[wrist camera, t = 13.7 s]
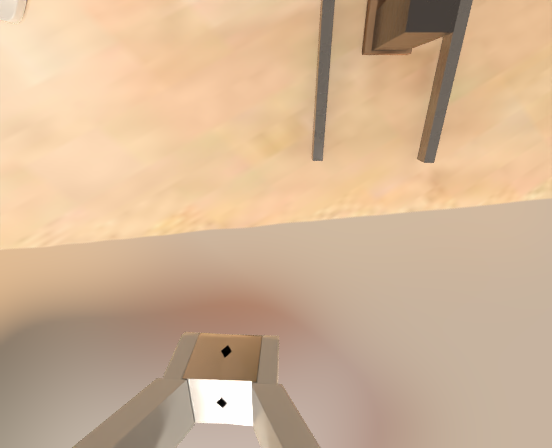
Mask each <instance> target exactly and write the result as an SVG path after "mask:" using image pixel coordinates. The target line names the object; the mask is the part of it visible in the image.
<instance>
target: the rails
mask: <svg viewBox="0 0 552 448" xmlns="http://www.w3.org/2000/svg"><path fill="white" fill-rule="evenodd" d="M472 1H473V0H461V1H460V6H459V10H458V15H457V19H456V23H455V28H454V32H453V33H451V34H448V35H446V36H444V37H443V41H442V46H441V51H440V55H439V60H438V65H437V69H436V74H435V79H434V83H433V88H432V93H431V97H430V102H429V107H428V112H427V116H426V121H425V126H424V130H423V135H422V140H421V144H420V149H419V154H418V158H417V159H418V160H420V161H422V162H424V163H434V160H435V156H436V152H437V148H438V144H439V139H440V135H441V131H442V127H443V123H444V118H445V114H446V110H447V106H448V102H449V97H450V93H451V89H452V85H453V81H454V77H455V72H456V68H457V64H458V60H459V56H460V51H461V47H462V43H463V39H464V35H465V30H466V26H467V22H468V18H469V14H470V9H471V5H472ZM334 2H335V0H321V11H320V27H319V44H318V61H317V77H316V94H315V111H314V128H313V144H312V160H313V161H323V147H324V134H325V121H326V108H327V95H328V81H329V68H330V55H331V42H332V29H333V15H334Z"/></svg>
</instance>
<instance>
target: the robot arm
mask: <svg viewBox="0 0 552 448" xmlns="http://www.w3.org/2000/svg"><path fill="white" fill-rule="evenodd" d="M26 2H27V0H0V21H2V22H7V23H11V24H17V23H19V22H20V21H21V20H22V18H23V15H24V11H25V7H26ZM278 367H279V336H265V335H263V336H262V335H235V334H234V335H233V334H232V335H228V334H227V335H226V334H213V333H194V332H185V333H184V334H183V335H182V336H181V338H180V341H179V343H178V345H177V347H176V349H175V351H174V354H173V356H172V358H171V360H170V362H169V365H168V367H167V369H166V371H165V373H164V376H163V378H157V379H156V380H154V381H153V382H152V383H151V384H149V385H148V386H147V387H146V388H145V389H143V390H142V391H141V392H140V393H138V394H137V395H136V396H135V397H134V398H132V399H131V400H130V401H129V402H127V403H126V404H125V405H124V406H122V407H121V408H120V409H119V410H118V411H116V412H115V413H114V414H113V415H112V416H110V417H109V418H108V419H106V420H105V421H104V422H103V423H102V424H100V425H99V426H98V427H97V428H96V429H94V430H93V431H92V432H90V433H89V434H88V435H87V436H86V437H84V438H83V439H82V440H81V441H79V442H78V443H77V444H76V445H75V446H74V447H72V448H176V447H177V446H178V445H179V444H180V443H181V441H182V440H183V439H184V438H185V436H186V435H187V434H188V433H189V431H190V430H191V429H192V428H193V426H194V425H195V424H194V423H227V424H238V425H249V426H250V425H251V426H253V429H254V431H255V434H256V436H257V439H258V442H259V444H260V447H261V448H320V446H319V444H318V443H317V441H316V439H315V438H314V436H313V434H312V433H311V431H310V430H309V428H308V427H307V425H306V423H305V422H304V420H303V418H302V416H301V415H300V413H299V411H298V410H297V408H296V407H295V405H294V403H293V402H292V400H291V398H290V397H289V395H288V393H287V392H286V390H285V388H284V387H283V385H282V384H278Z"/></svg>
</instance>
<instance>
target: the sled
mask: <svg viewBox="0 0 552 448" xmlns="http://www.w3.org/2000/svg"><path fill="white" fill-rule="evenodd" d="M460 1H461V0H368V5H367V14H366V23H365V31H364V40H363V49H362V55H408V54H411V51H412V48H414V47H417V46H420V45H422V44H425V43H427V42H430V41H433V40H435V39H438V38H440V37H443V36H446V35H448V34H451V33H453V32H454V28H455V23H456V19H457V15H458V10H459V6H460Z"/></svg>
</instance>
